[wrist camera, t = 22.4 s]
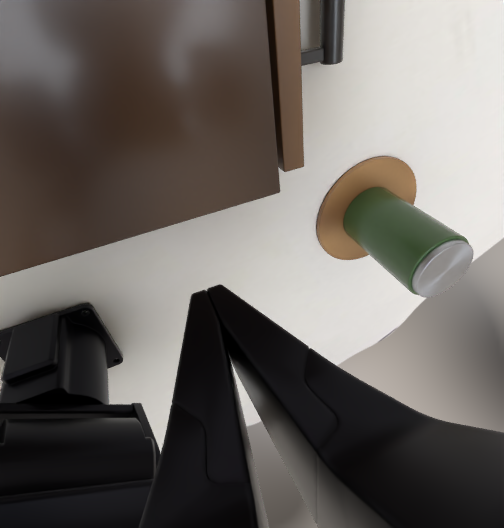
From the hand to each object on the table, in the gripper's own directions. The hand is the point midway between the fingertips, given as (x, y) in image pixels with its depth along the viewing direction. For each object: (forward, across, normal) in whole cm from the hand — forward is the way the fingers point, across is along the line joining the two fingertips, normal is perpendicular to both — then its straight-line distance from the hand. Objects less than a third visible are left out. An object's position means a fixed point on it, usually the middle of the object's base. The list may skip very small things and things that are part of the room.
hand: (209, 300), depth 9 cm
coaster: (+13, -15, +9) cm, 22 cm away
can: (+13, -15, +9) cm, 21 cm away
